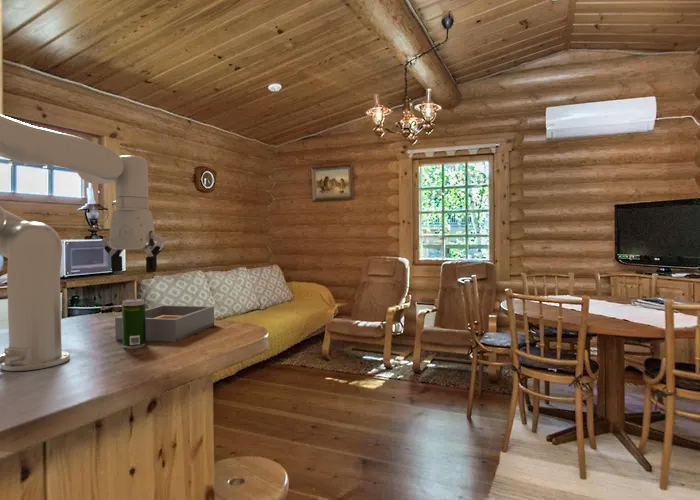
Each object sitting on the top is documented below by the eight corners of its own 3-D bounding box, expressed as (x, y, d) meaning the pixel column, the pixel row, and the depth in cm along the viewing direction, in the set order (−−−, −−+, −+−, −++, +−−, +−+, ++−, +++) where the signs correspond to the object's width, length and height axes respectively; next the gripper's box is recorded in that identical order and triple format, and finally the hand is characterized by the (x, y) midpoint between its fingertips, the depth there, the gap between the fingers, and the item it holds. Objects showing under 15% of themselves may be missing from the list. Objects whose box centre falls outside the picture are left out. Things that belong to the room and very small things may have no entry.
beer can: (148, 346, 111) (147, 300, 111) (125, 350, 108) (124, 302, 108) (142, 342, 116) (142, 298, 115) (120, 346, 112) (119, 300, 112)
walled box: (175, 341, 116) (175, 319, 116) (115, 339, 119) (115, 317, 119) (214, 325, 138) (213, 306, 138) (162, 323, 141) (162, 305, 141)
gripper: (91, 204, 108) (93, 272, 109) (154, 203, 106) (156, 273, 106) (112, 206, 116) (113, 270, 116) (171, 205, 113) (173, 270, 114)
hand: (134, 271), depth 111 cm, fingers open, 9 cm apart
